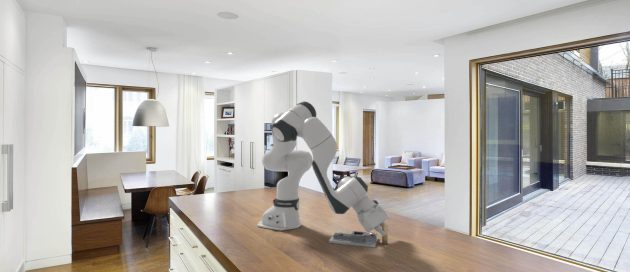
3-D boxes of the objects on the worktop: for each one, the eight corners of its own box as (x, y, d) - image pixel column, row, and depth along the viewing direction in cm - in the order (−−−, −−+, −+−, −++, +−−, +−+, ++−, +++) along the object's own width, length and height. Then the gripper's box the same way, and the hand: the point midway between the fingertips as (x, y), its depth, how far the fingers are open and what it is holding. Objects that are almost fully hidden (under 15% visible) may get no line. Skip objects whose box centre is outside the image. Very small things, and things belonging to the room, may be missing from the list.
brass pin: (381, 244, 146) (381, 225, 145) (382, 242, 148) (382, 224, 148) (387, 244, 145) (387, 226, 145) (387, 242, 147) (387, 224, 147)
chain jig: (328, 242, 147) (328, 233, 147) (335, 234, 159) (335, 226, 159) (375, 247, 142) (375, 238, 142) (378, 238, 153) (378, 229, 153)
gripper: (360, 208, 141) (382, 235, 136) (378, 199, 158) (398, 223, 153) (350, 217, 143) (372, 244, 138) (369, 208, 161) (389, 231, 156)
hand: (386, 233), depth 146 cm, fingers closed on brass pin, 2 cm apart
